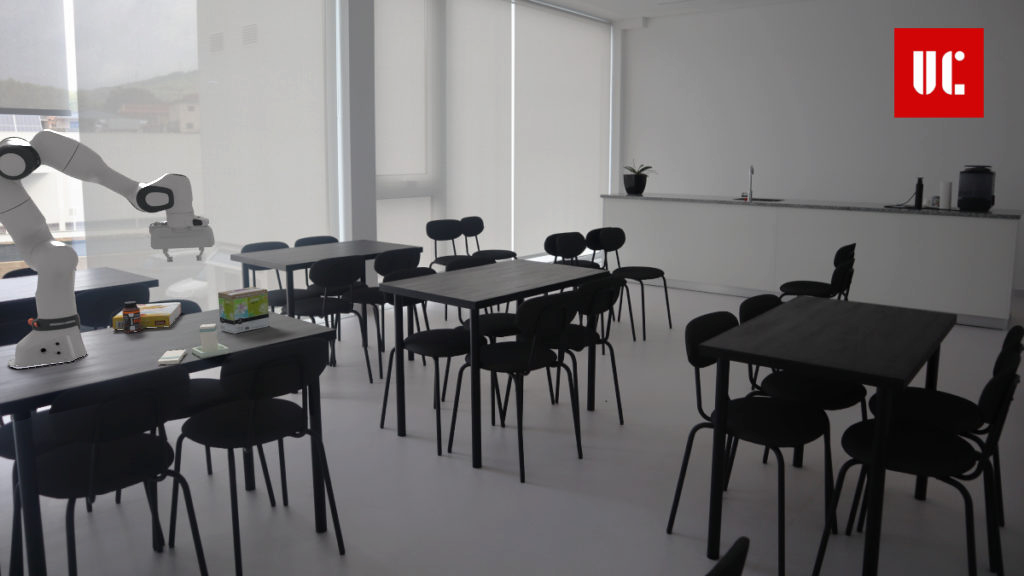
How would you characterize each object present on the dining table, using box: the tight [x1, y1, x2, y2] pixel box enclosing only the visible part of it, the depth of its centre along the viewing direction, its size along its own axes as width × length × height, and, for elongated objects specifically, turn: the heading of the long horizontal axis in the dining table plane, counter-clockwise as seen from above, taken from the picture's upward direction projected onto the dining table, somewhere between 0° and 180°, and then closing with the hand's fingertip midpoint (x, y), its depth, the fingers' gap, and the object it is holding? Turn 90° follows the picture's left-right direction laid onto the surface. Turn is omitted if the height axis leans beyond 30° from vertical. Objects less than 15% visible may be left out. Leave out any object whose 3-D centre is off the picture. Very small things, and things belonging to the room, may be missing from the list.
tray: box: [191, 342, 230, 359], centre depth 257 cm, size 9×9×2 cm
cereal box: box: [112, 301, 182, 329], centre depth 307 cm, size 20×6×28 cm
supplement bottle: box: [121, 300, 143, 333], centre depth 289 cm, size 6×6×11 cm
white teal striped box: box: [199, 323, 219, 352], centre depth 256 cm, size 5×4×9 cm
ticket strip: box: [157, 348, 187, 366], centre depth 251 cm, size 6×13×1 cm, turn 11°
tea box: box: [217, 286, 270, 335], centre depth 290 cm, size 15×10×15 cm, turn 143°
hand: (184, 261), depth 266 cm, fingers open, 8 cm apart
